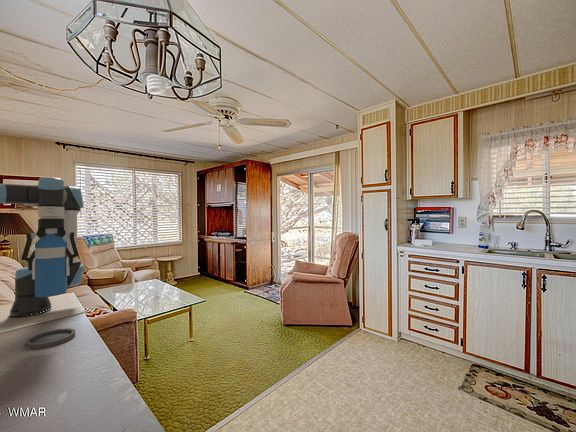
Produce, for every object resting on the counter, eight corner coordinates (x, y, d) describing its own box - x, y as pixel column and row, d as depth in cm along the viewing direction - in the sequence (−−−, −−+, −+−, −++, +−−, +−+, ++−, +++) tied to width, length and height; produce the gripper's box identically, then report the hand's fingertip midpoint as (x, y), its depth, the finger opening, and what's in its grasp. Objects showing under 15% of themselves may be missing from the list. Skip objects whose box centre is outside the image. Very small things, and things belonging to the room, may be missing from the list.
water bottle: (37, 298, 95) (37, 228, 95) (32, 294, 100) (32, 228, 101) (70, 292, 102) (70, 228, 103) (63, 289, 108) (63, 228, 108)
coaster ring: (29, 338, 102) (29, 334, 102) (76, 329, 111) (76, 325, 111) (21, 352, 91) (21, 348, 91) (73, 341, 99) (73, 337, 99)
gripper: (8, 218, 92) (8, 283, 92) (86, 217, 105) (86, 274, 105) (14, 218, 98) (13, 279, 98) (87, 218, 111) (87, 271, 111)
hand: (51, 276), depth 101 cm, fingers closed on water bottle, 9 cm apart
